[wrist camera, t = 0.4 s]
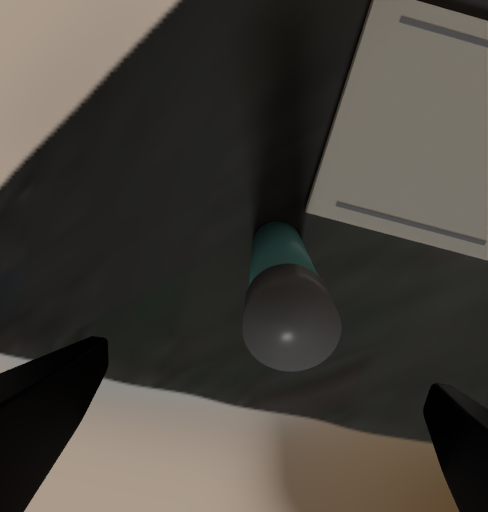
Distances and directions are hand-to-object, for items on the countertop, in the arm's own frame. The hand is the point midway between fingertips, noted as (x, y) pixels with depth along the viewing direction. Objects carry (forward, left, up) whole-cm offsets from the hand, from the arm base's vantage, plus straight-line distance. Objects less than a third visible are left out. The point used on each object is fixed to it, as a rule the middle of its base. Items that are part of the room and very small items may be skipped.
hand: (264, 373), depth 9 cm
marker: (-1, -1, -12) cm, 12 cm away
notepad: (-8, -9, -12) cm, 17 cm away
